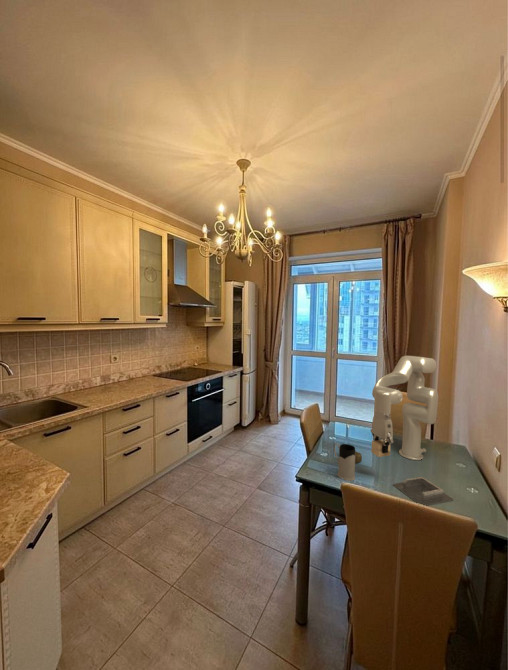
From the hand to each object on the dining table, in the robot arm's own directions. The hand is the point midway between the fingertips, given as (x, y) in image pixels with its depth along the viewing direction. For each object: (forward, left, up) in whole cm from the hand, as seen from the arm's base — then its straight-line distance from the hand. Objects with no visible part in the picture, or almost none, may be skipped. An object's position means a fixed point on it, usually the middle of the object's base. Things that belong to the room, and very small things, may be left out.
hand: (380, 449), depth 136 cm
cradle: (-11, +15, -14) cm, 23 cm away
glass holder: (+16, -8, -15) cm, 23 cm away
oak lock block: (0, 0, -2) cm, 2 cm away
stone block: (+3, -20, -15) cm, 25 cm away
